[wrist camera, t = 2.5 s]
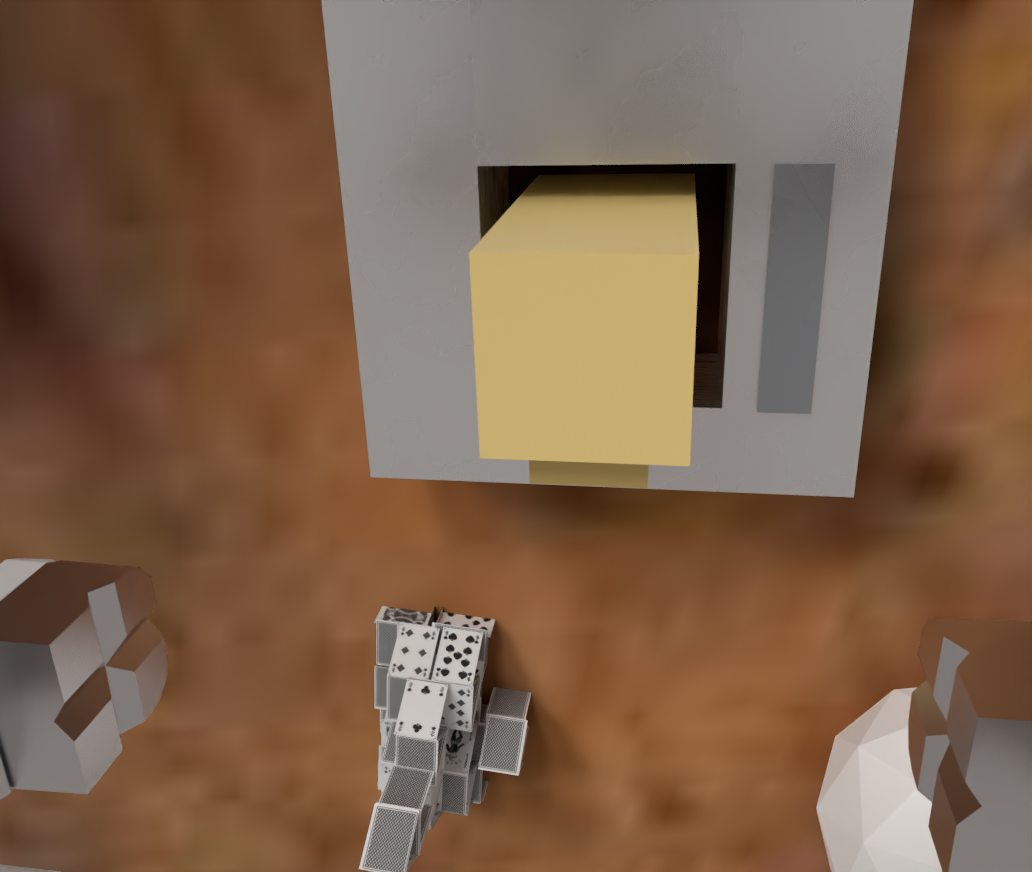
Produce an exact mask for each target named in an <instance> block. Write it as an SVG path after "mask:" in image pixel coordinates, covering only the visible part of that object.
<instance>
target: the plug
mask: <svg viewBox="0 0 1032 872" xmlns="http://www.w3.org/2000/svg"><path fill="white" fill-rule="evenodd" d="M469 261H470V280H471V299H472V318H473V338H474V357H475V376H476V395H477V414H478V433H479V452H480V458H485V459H511V460H529V478H530V483H531V484H554V485H578V486H602V487H626V488H647V487H648V474H649V465H668V466H690V452H691V429H692V406H693V383H694V360H695V337H696V314H697V292H698V269H699V243H698V226H697V209H696V192H695V175H694V173H665V174H556V175H538V176H537V177H536V178H535V179H534V181H533V182H532V183H531V184H530V185H529V186H528V187H527V188H526V190H525V191H524V192H523V193H522V194H521V195H520V196H519V197H518V199H517V200H516V201H515V202H514V203H513V204H512V205H511V206H510V208H509V209H508V210H507V211H506V212H505V213H504V214H503V215H502V217H501V218H500V219H499V220H498V221H497V222H496V223H495V224H494V226H493V227H492V228H491V229H490V230H489V231H488V232H487V233H486V235H485V236H484V237H483V238H482V239H481V240H480V241H479V242H478V244H477V245H476V246H475V247H474V248H473V249H472V250H471V251H470V253H469Z"/></svg>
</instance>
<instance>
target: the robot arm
mask: <svg viewBox="0 0 1032 872" xmlns="http://www.w3.org/2000/svg"><path fill="white" fill-rule="evenodd" d="M156 604H157V599H156V595H155V591H154V587H153V583H152V579H151V576H150V575H149V574H148V573H146V572H145V571H144V570H143V569H141V568H140V567H133V566H121V565H109V564H97V563H85V562H73V561H56V560H53V559H33V558H16V559H7V560H5V561H3V562H2V563H1V564H0V799H2V798H3V797H5V796H7V795H8V794H10V793H11V789H24V790H38V791H51V792H65V793H79V794H88V793H89V792H90V791H91V789H92V788H93V787H94V785H95V784H96V783H97V782H98V780H99V779H100V778H101V777H102V775H103V774H104V773H105V772H106V770H107V769H108V768H109V766H110V765H111V764H112V763H113V761H114V760H115V759H116V758H117V756H118V755H119V754H120V752H121V751H122V750H123V747H122V741H121V734H122V733H123V732H125V731H127V730H129V729H131V728H133V727H135V726H137V725H139V724H140V723H142V722H144V721H145V720H146V719H147V718H148V716H149V715H150V714H151V712H152V711H153V710H154V708H155V707H156V705H157V704H158V703H159V700H160V697H161V694H162V691H163V688H164V685H165V682H166V679H167V664H168V655H167V649H166V644H165V638H164V636H163V635H162V634H161V633H160V632H159V630H158V629H157V628H156V627H155V626H154V625H153V624H152V623H151V621H150V620H149V619H148V617H149V615H150V614H151V612H152V610H153V609H154V607H155V605H156ZM918 656H919V659H920V662H921V664H922V667H923V670H924V673H925V676H926V678H927V679H926V680H925V681H924V682H923V683H922V684H921V685H919V686H918V687H917V688H916V689H915V690H914V691H913V692H912V695H911V703H910V711H909V719H908V750H909V756H910V762H911V768H912V773H913V776H914V780H915V783H916V787H917V790H918V791H919V792H920V793H921V794H922V795H924V796H925V797H926V798H927V799H928V800H930V801H931V802H932V807H931V813H930V819H929V825H928V827H929V830H930V833H931V836H932V840H933V843H934V846H935V849H936V852H937V855H938V859H939V862H940V865H941V868H942V871H943V872H1032V622H1023V621H997V620H971V619H946V618H927V619H926V622H925V625H924V627H923V630H922V633H921V639H920V645H919V651H918ZM0 872H59V871H51V870H42V869H34V868H25V867H17V866H9V865H0Z"/></svg>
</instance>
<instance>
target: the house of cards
mask: <svg viewBox="0 0 1032 872" xmlns="http://www.w3.org/2000/svg"><path fill="white" fill-rule="evenodd" d="M434 612H435V606H434V609H433V611H432V613H426V612H419V611H412V610H406V609H399V608H392V607H385V606H382V607H381V609H380V611H379V613H378V615H377V617H376V619H375V621H374V623H376V664H378V665H382V667H381V666H375V668H374V708H375V709H380V733H381V746H379V761H378V783H377V785H378V790H382V794H381V797H380V800H379V802H377V803H375V805H374V809H373V813H372V817H371V822H370V826H369V830H368V834H367V838H366V842H365V846H364V850H363V854H362V858H361V862H360V867H359V868H358V869H361V870H367V871H372V872H407V871H408V870H409V868H410V866H411V865H412V863H413V862H414V860H415V859H416V857H418V855H420V851H421V847H422V844H423V841H424V838H425V834H426V831H427V829H430V828H433V826H434V824H435V823H436V821H437V820H438V818H439V817H440V815H441V814H442V812H447V813H453V814H459V815H465V816H468V812H469V809H470V807H471V805H472V803H477V804H481V801H484V798H485V794H486V790H487V786H488V782H489V781H486V780H482V772H483V770H486V771H492V772H498V773H505V774H511V775H517V776H519V772H520V770H521V768H522V765H523V762H522V759H523V755H524V750H525V745H526V741H527V736H528V731H529V727H530V726H527V722H528V720H526V715H527V711H528V706H529V701H530V697H531V693H530V692H524V691H517V690H511V689H505V688H498V687H493V691H492V694H491V698H490V702H489V705H487V704H481V701H482V684H483V676H484V673H485V669H486V666H487V660H488V643H489V637H491V634H492V631H493V627H494V624H495V621H496V620H494V619H487V618H480V617H473V616H466V615H460V614H453V613H446V612H443V607H442V610H441V612H440V615H439V617H438V620H437V622H436V623H434Z"/></svg>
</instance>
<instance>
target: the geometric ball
mask: <svg viewBox="0 0 1032 872" xmlns="http://www.w3.org/2000/svg"><path fill="white" fill-rule="evenodd" d="M916 688H917V687H915V688H905V689H895V690H892V691H891V692H890V693H889V694H887V695H886V696H885V697H884V698H882V699H881V700H880V701H879V702H877V703H876V704H875V705H874V706H872V707H871V708H870V709H869V710H867V711H866V712H865V713H864V714H863V715H861V716H860V717H859V718H858V719H856V720H855V721H854V722H853V723H851V724H850V725H849V726H848V727H846V728H845V729H844V730H843V731H841V732H840V733H839V734H838V735H836V736H835V739H834V743H833V747H832V751H831V754H830V758H829V762H828V766H827V769H826V773H825V777H824V781H823V784H822V788H821V792H820V796H819V799H818V803H817V807H816V810H817V814H818V818H819V823H820V827H821V831H822V835H823V840H824V844H825V848H826V852H827V857H828V861H829V865H830V869H831V872H943V871H942V868H941V865H940V862H939V859H938V855H937V852H936V849H935V846H934V843H933V840H932V836H931V833H930V830H929V827H928V825H929V819H930V813H931V807H932V802H931V801H930V800H928V799H927V798H926V797H925V796H924V795H922V794H921V793H920V792H919V791H918V790H917V787H916V783H915V780H914V776H913V773H912V768H911V762H910V756H909V750H908V719H909V711H910V703H911V695H912V692H913V691H914V690H915V689H916Z"/></svg>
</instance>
